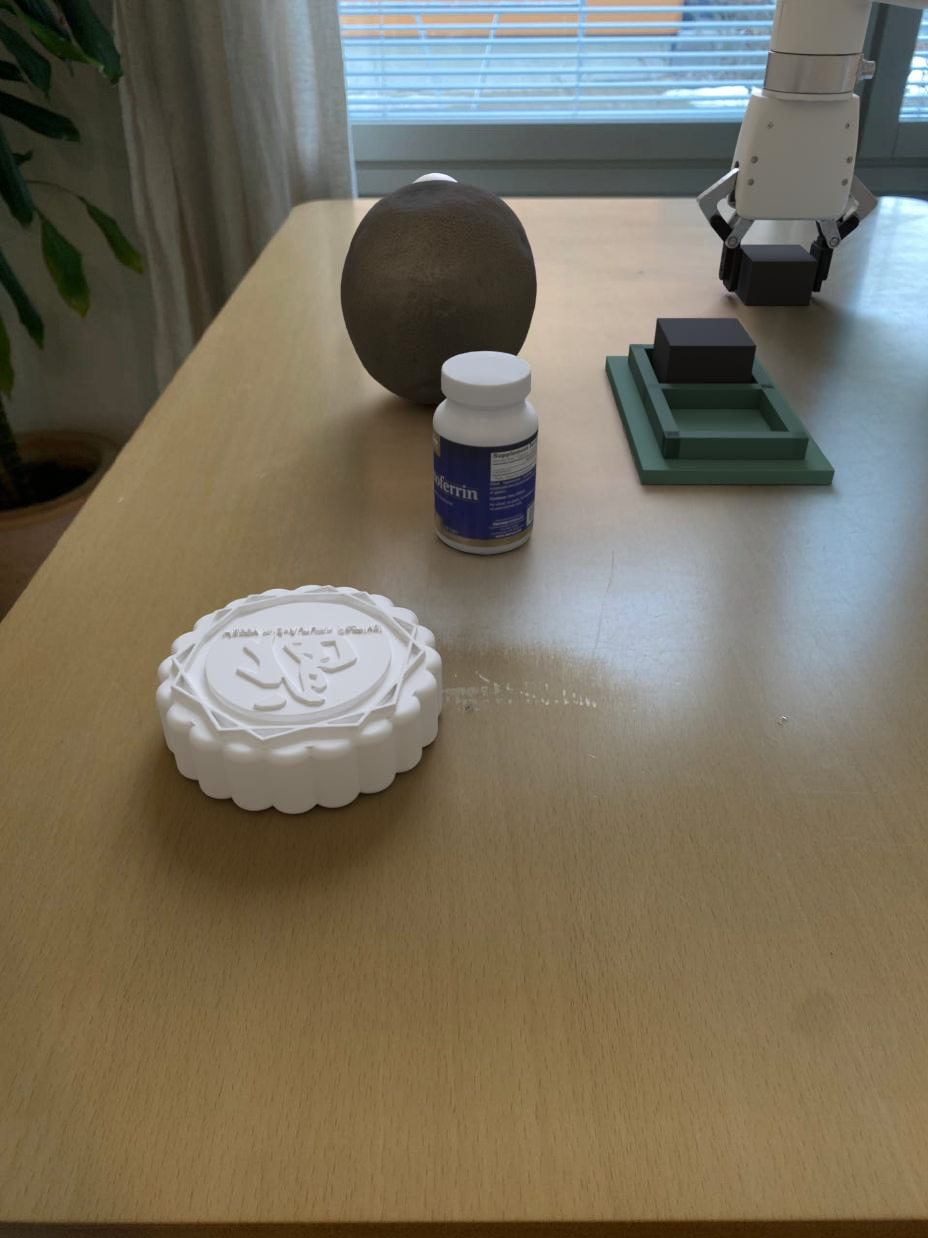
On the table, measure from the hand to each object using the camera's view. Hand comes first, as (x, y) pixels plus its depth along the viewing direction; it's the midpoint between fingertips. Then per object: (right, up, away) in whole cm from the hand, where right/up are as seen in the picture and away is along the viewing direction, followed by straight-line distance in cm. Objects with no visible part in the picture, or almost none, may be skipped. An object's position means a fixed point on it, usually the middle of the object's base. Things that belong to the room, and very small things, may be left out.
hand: (770, 286), depth 91 cm
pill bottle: (-28, -27, -36) cm, 53 cm away
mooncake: (-36, -36, -49) cm, 71 cm away
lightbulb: (-32, -1, 0) cm, 32 cm away
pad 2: (0, -1, +1) cm, 1 cm away
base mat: (-12, -18, -23) cm, 31 cm away
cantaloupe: (-31, -16, -20) cm, 40 cm away
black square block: (-12, -14, -20) cm, 28 cm away
